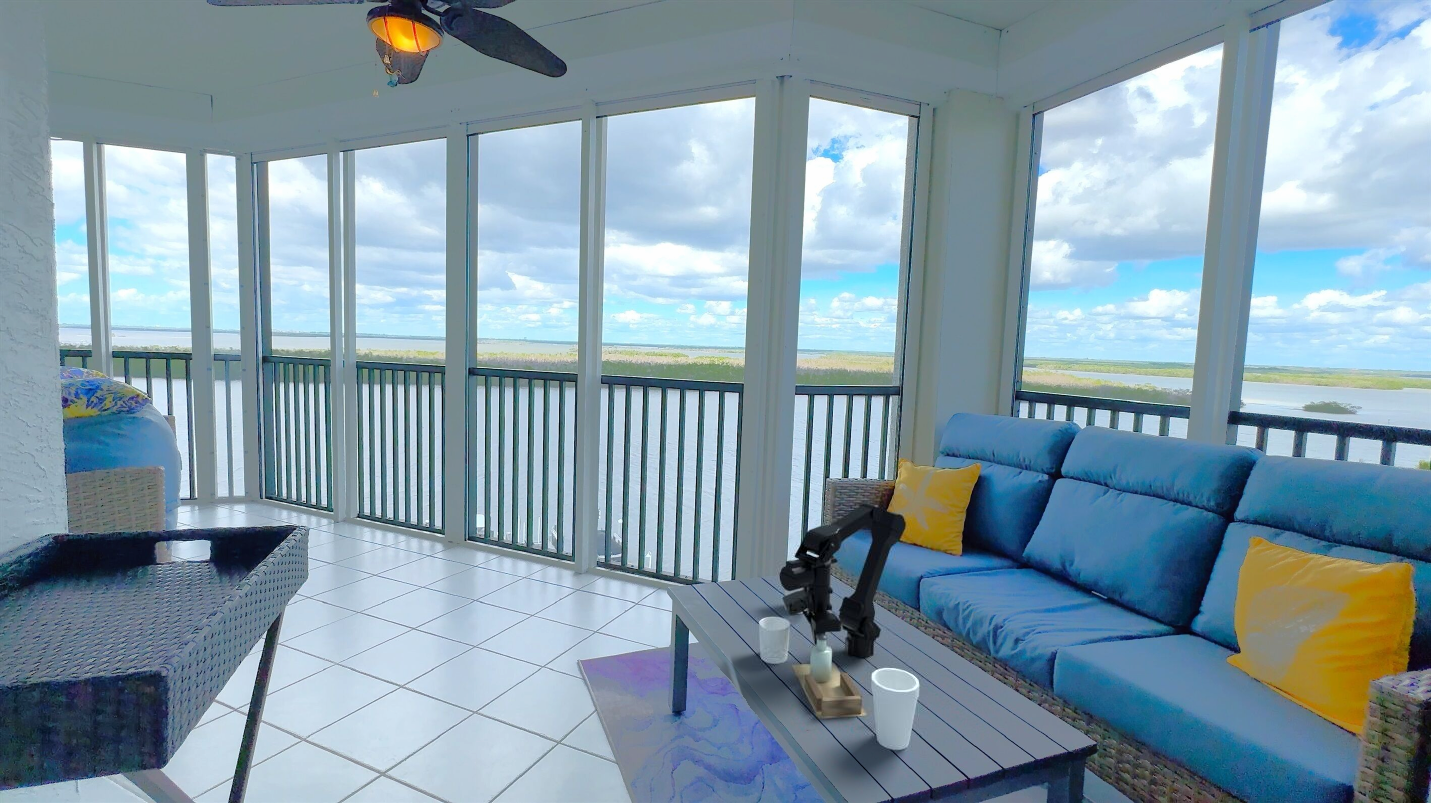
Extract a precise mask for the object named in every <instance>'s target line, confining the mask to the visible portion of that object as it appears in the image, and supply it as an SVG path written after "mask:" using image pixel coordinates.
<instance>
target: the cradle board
mask: <svg viewBox="0 0 1431 803" xmlns="http://www.w3.org/2000/svg"><path fill="white" fill-rule="evenodd" d="M791 668H792V669H793V671H794V674H795V676H796V677H797V679H798V681H799V683H800V686H801V687H802V689H803V691H804V693H805V695H806V698H807V699H808V702H809V703H810V705H811V707H812V709H813V711H814V713H815V715H816V717H817V719H818V720H819V719H832V718H833V719H834V718H836V719H837V718H850V717H867V716H868V714H867V712H866V711H865V709H864V707H863V706H862V705H863V695H862V693H861V692H860V690H858V687H857V686H856V684H855V683H854V681H853V680H852V678H851V677H850V675H849V674H848V672H840V670H839V668H838V666H836V663H835V662H831V680H830V681H829V682H826V683H819V682H815V680H814V679H813V677H812V675H810V663H808V664H807V663H806V664H803V663H802V664H791Z"/></svg>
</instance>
